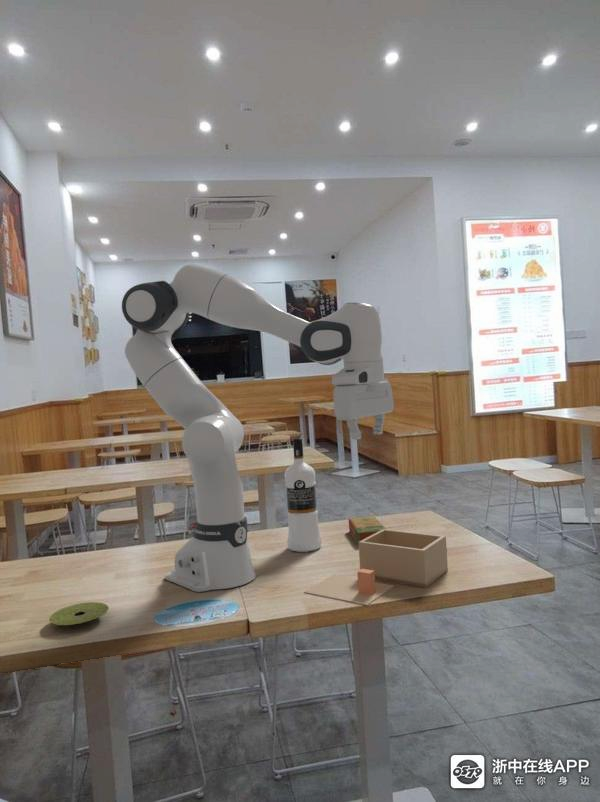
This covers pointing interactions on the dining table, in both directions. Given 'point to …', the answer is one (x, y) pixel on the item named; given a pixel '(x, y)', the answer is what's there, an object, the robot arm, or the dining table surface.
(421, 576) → the brown carton
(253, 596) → the dining table surface
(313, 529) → the vodka
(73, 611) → the green disc
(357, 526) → the carton
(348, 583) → the box lid
